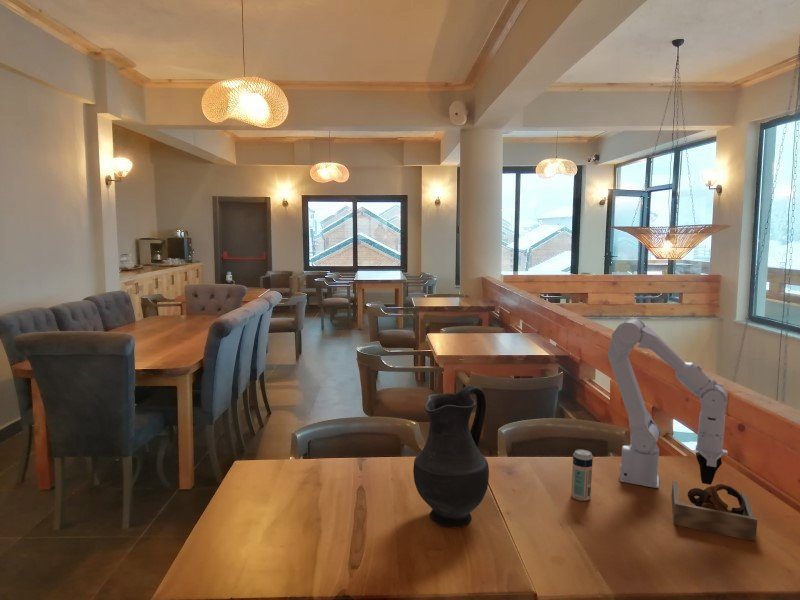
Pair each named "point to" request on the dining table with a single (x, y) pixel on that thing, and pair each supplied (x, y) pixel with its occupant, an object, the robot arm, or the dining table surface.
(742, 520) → the box
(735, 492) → the brown hollow ring part
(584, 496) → the supplement bottle
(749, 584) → the dining table surface
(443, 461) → the pitcher
